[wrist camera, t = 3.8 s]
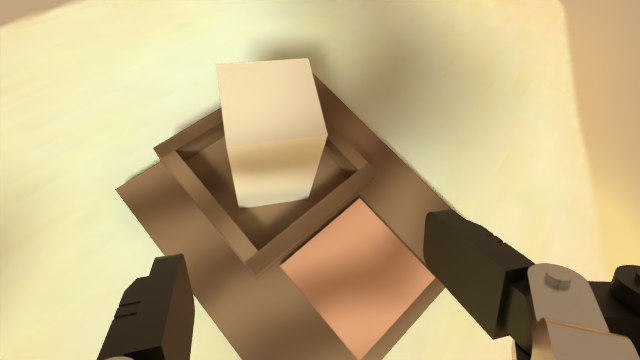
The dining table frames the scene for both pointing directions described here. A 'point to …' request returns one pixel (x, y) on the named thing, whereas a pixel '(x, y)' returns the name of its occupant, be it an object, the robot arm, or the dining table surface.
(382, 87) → the dining table surface
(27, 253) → the dining table surface
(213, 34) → the dining table surface
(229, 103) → the cream block
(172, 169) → the puzzle board
